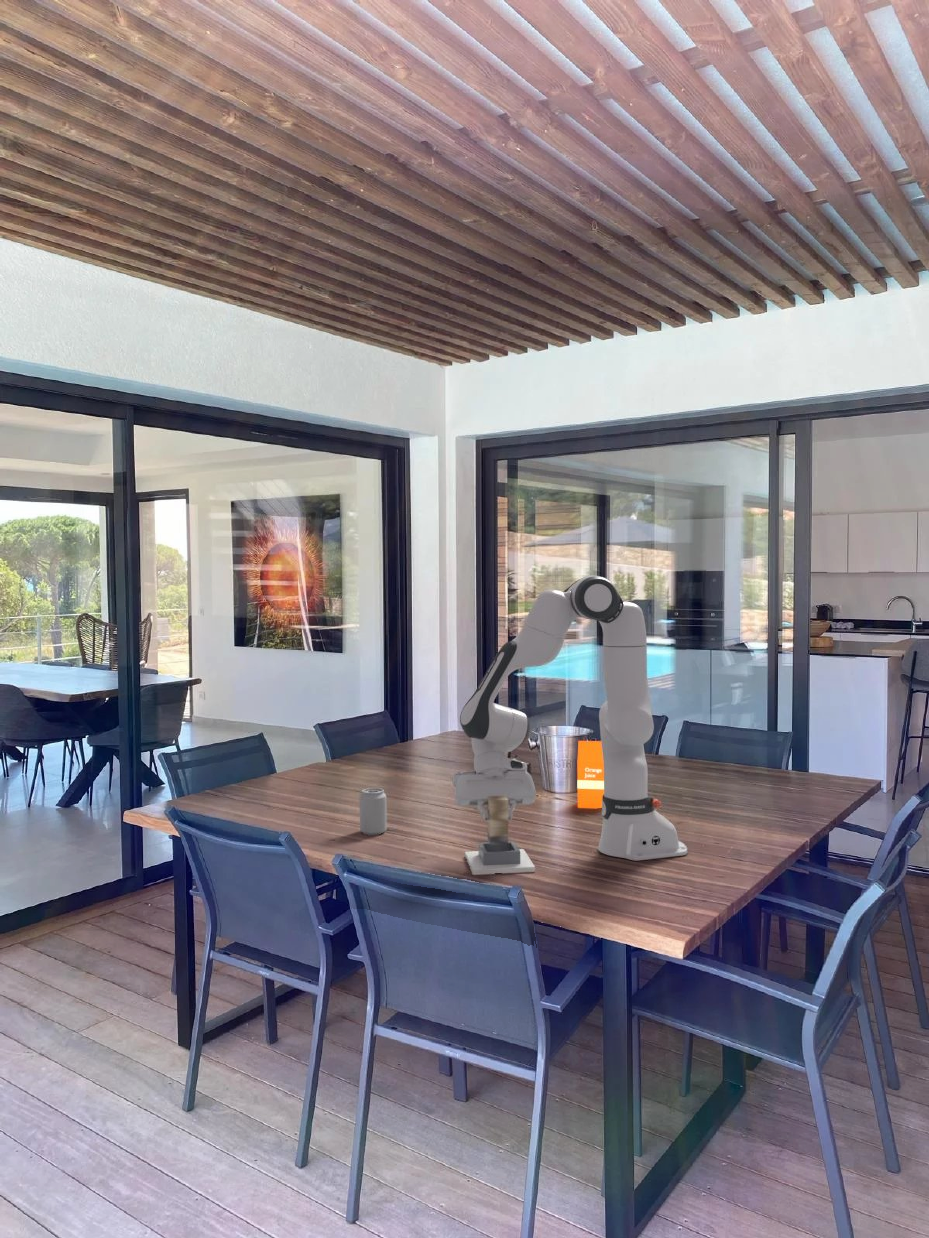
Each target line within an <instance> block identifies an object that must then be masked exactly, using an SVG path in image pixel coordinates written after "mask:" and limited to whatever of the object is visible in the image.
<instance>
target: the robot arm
mask: <svg viewBox="0 0 929 1238" xmlns="http://www.w3.org/2000/svg"><path fill="white" fill-rule="evenodd" d="M579 618H583V619H587V620H594V621H598V622H599V625H600V626H601V629H602V634H603V635H602V671H603V672H602V677H603V681H604V688H605V695H606V700H605V702H603V704H602V705H601V707H600V708H599V712H598V719H599V721H598V722H599V731H600V734H599V735H600V741H601V745H602V754H603V762H604V794H603V796H602V809H601V814H602V827H601V833H600V834H601V836H600V840H599V843H598V846H597V850H598V852H600V853H602V854H604V855H607V856H611V857H617V858H623V859H627V860H631V861H636V862H637V861H645V860H654V859H663V858H664V859H665V858H671V857H678V856H679V857H680V856H686V855H687V854H688V847H687V845H686V844H684V842H682V841H680V840H679V836H678V832H677V829H676V827H675V826H674V824H673V823H671V821H669V820H668V819H667V818H666V817H664V816H663V815H662V814H661V813H659V812H658V811H657V810H656V809H659V808H660V807H662V806H661V805H662V801H660V800H659V799H657V798H655V797H652V796H650V795H648V762H647V760H646V759H647V758H646V754H645V753H646V752H645V748H644V747H645V746H644V744H646V743H648V741H650V739H651V738H652V736H653V734H654V729H655V725H654V719H653V712H652V711H653V710H652V703H651V702H652V701H651V694H650V689H649V682H648V681H649V680H648V662H647V661H648V654H647V652H648V651H647V649H648V648H647V647H648V644H647V628H646V620H645V616H644V612H643V609H642V608H641V606H639V605H637V604H636V603H634V602H630V601H624V600H623V599H622V596H620V593H619V592H618V589H616V586H615V584H613V583H612V581H610V580H609V579H607V578H606V577H603V576H599V575H585V576H584V577H581V578H580V579H577V580H575V581H574V582H573V583H572V584H571V585H569V587H567V588H566V589H565V590H563V591H561V590H558V589H554V588H553V589H546V590H545V589H544V590H543V591H541V592H540V593H539V594H538V596H537V598H536V599H535V601H534V603H533V604H532V606H531V608H530V609H529V612H528V614H527V616H526V619H525V621H524V623H523V626H522V628H521V630H520V631H519V633H518V634H517V636H516V637H515V638H514V639H512V640H510V641H507V642H505V643H503V645H502V646H501V648H500V649H499V650H498V652H497V653H496V655H495V656H494V658H493V660H492V662H491V663H490V665H489V666H488V669H487V670H486V672H485V674H484V675H483V677H482V679H481V680H480V682H479V685H478V686H477V688H476V689H475V691H474V693H473V695H472V696H470V698H469V699H468V700H467V702H466V703H465V705H464V706H463V707H462V710H461V711H460V715H459V723H460V726H461V728H462V730H463V732H464V734H465V735H466V737H468V738H470V739H471V749H472V752H473V755H474V758H473V765H474V766H473V769H474V770H471V771H470V770H469V771H457V772H456V773H455V774H453V776H452V778H451V779H452V784H453V786H454V787H455V790H454V791H455V792H454V803H455V805H456V806H458V807H476V809H477V811H478V812H479V813H480V814H481V815H482V820H483V821H488V820H489V818H490V815H489V811H488V810H486V809H485V806H487V807H488V796H506V797H507V799H508V820H513V818H514V810H515V808H516V806H518V805H519V806H520V805H532V804H533V803H534V802H535V800H536V796H537V792H536V787H535V786H536V785H535V783H534V780H533V777H532V774H531V775H530V774H529V773H528V772H527V764H526V763H524V762H525V761H524V762H521V761H516V760H513V759H510V758H507V757H508V752H511V753H512V752H513V751H515V750H517V749H518V748H519V747H520V746H522V745H523V744H525V743H526V742H527V740H529V736H530V733H531V732H530V729H531V728H530V727H531V726H530V720H529V717H528V716H527V713H525V712H522V711H520V710H517V709H516V708H512V707H509V706H505V705H501V704H499V703H495V699H496V698H497V696H498V694H499V692H500V691H501V689H502V687H503V685H504V684H505V682H506V679H507V678H508V676H509V675H511V673H513V672H515V671H516V670H519V669H523V668H533V667H534V668H535V667H541V666H544V665H547V664H549V663H551V662H553V661H554V660H555V659H556V658H557V657H558V656H559V654H560V651H562V647H563V645H564V642H565V640H566V636H567V634H568V631H569V629H570V627H571V625H572V624H573V623H574V621H575V620H576V619H579Z"/></svg>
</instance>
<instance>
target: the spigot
mask: <svg viewBox="0 0 929 1238" xmlns="http://www.w3.org/2000/svg"><path fill="white" fill-rule="evenodd" d="M508 810H509V805H508V799H507V797H506V796H488V806H487V811H489V815H490V818H489V820H487V842H489V843H490V845H502V844H508V841H509V819H508Z"/></svg>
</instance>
